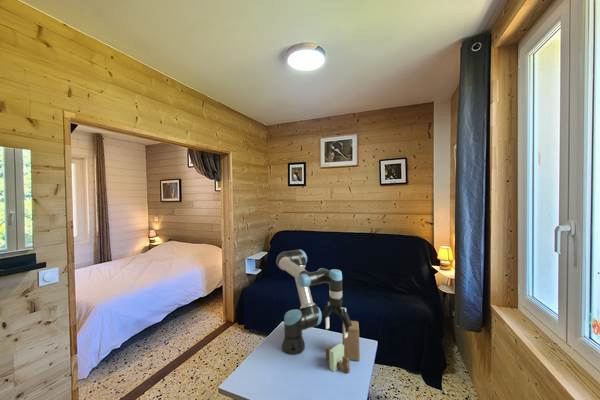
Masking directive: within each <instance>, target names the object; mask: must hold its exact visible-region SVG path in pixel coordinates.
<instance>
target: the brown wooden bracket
mask: <svg viewBox="0 0 600 400" xmlns="http://www.w3.org/2000/svg"><path fill="white" fill-rule="evenodd" d="M332 348H333V347H332ZM332 348H331V347H329V346H326V347H325V361H326V362H327V363H329V364H330V355H329V350H331V349H332ZM350 367H351V366H350V360H349V358H348V357H346V356H343V357H342V361H339V362H338V363H337V370H338V369H339V370H340V371H342V372H344V373H345V374H347V375H348V374H349V373H350V372H351V371H350V369H351V368H350Z"/></svg>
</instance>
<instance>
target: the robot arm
mask: <svg viewBox="0 0 600 400" xmlns="http://www.w3.org/2000/svg"><path fill="white" fill-rule="evenodd" d="M307 262H308V256H307V253H306V252H305V251H304V250H303V249H294V250H293V249H292V250H287V251H282V252H280V253H279V254H278V255H277V256H276V262H275V263H276V266H277V267H278V268H279V269H281V270H282V271H285V272H287V273H288V274H289V275H291V276H292V277H294V281H295V286H296V288H297V292H298V293H297V294H298V297H299V302H300V307H299V309H290V310H288V311H286V312H285V314H284V316H283V317H284V318H283V330H284V331H283V332H284V337H283V341H282V344H281V350H282V351H283V352H284V353H285V354H287V355H292V356H293V355H298V354H301V353H302V352H304V351H305V347H306V345H305V341H304V340H305V339H304V338H303V331H306V330H308V329H311V328H313V327H317V326H318V325H320V324H321V322H322V320H323V319H322V318H323V316H324V322H325V330H329V329H330V315H331V314H332V313H334V314H337V315H338V316H339V318H340V319H341V321H342V324H343V323H344V325H345V326H344V338H347V337H348V332H349V327H350V326H352V324H351V321H352V320H351V318H350V316H349V312H348V309H347V308H348V307H343V274H342V271H341V270H340V269H336V268H334V269H333V268H332V269H330V270H329V269H327V268H323V267H321V268H319V269H317V271H311V272H310V271H307V270H306V269H305V268H306V267H307V266H306V265H307ZM320 284H327V285H329V289H328V290H329V301H326V302H325V306H324V309H323V310H322V311H321V309H320V307H319V306H317V304H316V303H315V302H313V297H312V294H311V289H310V287H312V286H316V285H320ZM329 308H330V309H329Z"/></svg>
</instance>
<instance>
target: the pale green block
mask: <svg viewBox="0 0 600 400" xmlns="http://www.w3.org/2000/svg"><path fill="white" fill-rule="evenodd" d="M329 355H330V363H329V370H330V371H331V372H336V371H337V370H338V368H337V363H338V362H339V361H342V357H343V356H344V345H343V343H338V344H336V345H335V346H333V347H332V349H331V350H329Z"/></svg>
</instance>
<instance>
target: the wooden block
mask: <svg viewBox="0 0 600 400" xmlns="http://www.w3.org/2000/svg"><path fill="white" fill-rule="evenodd" d="M350 321H351V324H352V326H350V327H349V332H348V337H347V338H344V326H345V325H344V323H343V322H342V344H343V345H344V356H346V357H348V358H349V361H357V362H359V361H360V358H361V357H360V353H361V352H360V327H359V326H360V325H359V324H360V323H359V321H357V320H350Z"/></svg>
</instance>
